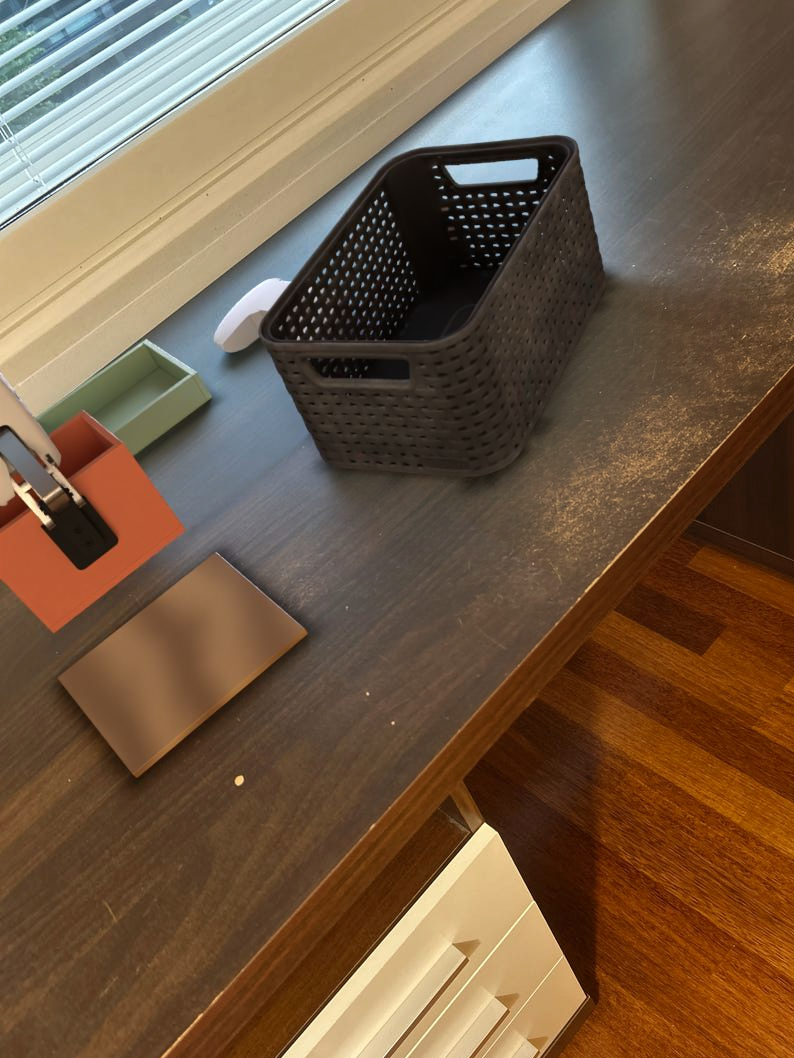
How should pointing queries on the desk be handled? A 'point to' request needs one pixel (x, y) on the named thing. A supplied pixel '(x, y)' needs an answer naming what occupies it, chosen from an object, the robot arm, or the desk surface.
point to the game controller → (255, 316)
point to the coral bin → (119, 498)
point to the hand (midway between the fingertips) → (75, 531)
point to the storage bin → (441, 311)
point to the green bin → (134, 397)
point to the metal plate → (179, 661)
